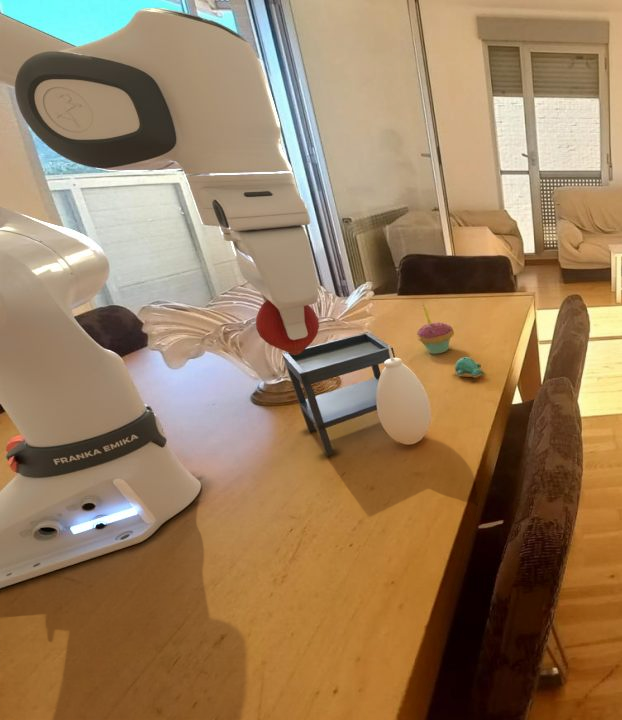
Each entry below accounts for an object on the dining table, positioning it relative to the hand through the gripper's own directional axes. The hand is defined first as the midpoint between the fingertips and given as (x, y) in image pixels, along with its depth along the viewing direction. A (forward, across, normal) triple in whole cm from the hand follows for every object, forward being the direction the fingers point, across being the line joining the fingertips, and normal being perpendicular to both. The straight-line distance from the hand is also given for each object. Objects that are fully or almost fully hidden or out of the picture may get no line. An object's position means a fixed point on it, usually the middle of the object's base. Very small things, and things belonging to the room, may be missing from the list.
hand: (290, 329), depth 54 cm
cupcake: (+27, -49, +36) cm, 67 cm away
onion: (+3, 0, 0) cm, 3 cm away
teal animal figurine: (+27, -29, +34) cm, 52 cm away
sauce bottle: (+27, -12, +14) cm, 33 cm away
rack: (+27, -24, +9) cm, 37 cm away
